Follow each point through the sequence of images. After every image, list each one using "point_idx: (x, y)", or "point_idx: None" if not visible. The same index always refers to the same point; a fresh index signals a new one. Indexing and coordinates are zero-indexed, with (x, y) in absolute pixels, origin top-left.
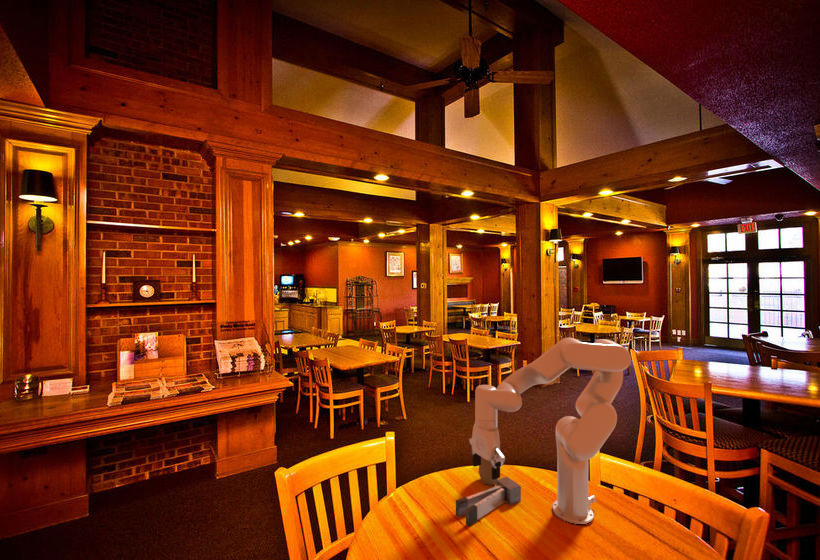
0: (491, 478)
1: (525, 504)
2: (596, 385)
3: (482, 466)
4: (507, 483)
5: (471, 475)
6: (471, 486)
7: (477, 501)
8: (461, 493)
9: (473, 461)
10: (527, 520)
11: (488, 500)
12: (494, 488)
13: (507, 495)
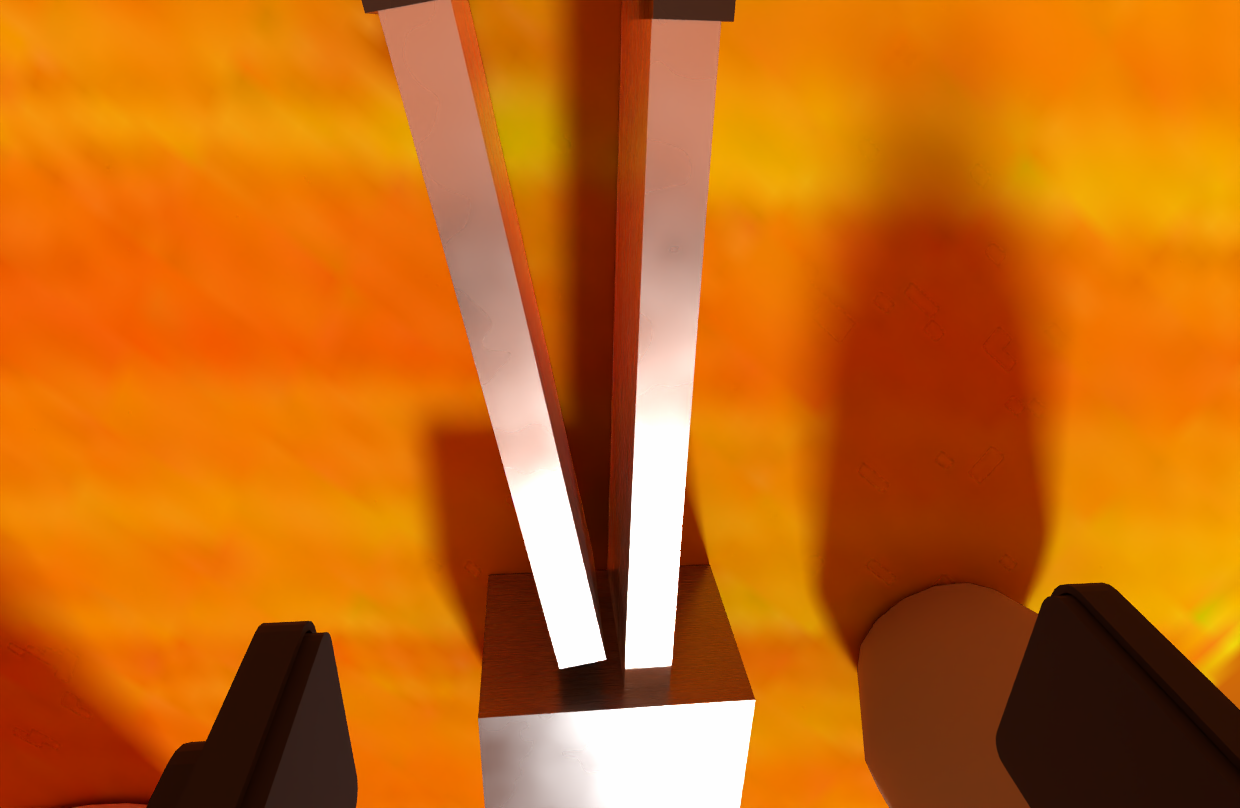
0: (889, 681)
1: (432, 696)
2: None
3: None
4: (612, 762)
5: (1140, 564)
6: (1007, 443)
7: (629, 229)
8: (1001, 250)
9: (1188, 682)
10: (190, 563)
11: (471, 340)
12: (648, 582)
13: (533, 636)
